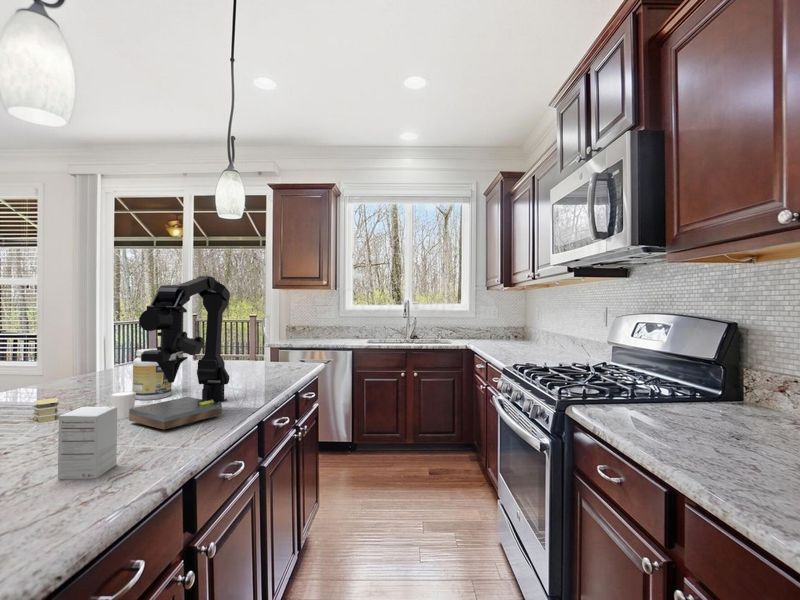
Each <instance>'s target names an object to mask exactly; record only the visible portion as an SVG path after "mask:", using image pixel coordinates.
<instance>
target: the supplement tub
mask: <svg viewBox="0 0 800 600" xmlns="http://www.w3.org/2000/svg"><path fill="white" fill-rule="evenodd" d="M148 350H157V348H141V349H137V350H136V352H135V356H136V358H134V360H133V361H132V392H136V397H135V400H139V401H141V400H142V401H143V400H144V401H151V400H152V401H153V400H160V399H163V398H168V397H169V396H170V395H171V394H172V386H173V385H172V383H169V382H168V380H167V379H166V377H165V375H164V373H163V371H162V369H161V368H160V366H159V365H158V363H157V362H141V354H142V353H143V352H144V351H148Z"/></svg>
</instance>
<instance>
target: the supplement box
mask: <svg viewBox="0 0 800 600" xmlns="http://www.w3.org/2000/svg"><path fill="white" fill-rule="evenodd" d="M117 439H118V420H117V407H110V406H81V407H78V408H76V409H73V410H71V411H68V412H66V413H63V414H61V415H58V441H57V442H58V443H57V444H58V445H57V448H58V449H57V450H58V451H57V455H58V457H57V460H58V461H57V479H58V480H96V479H98V478H99V477H100V476H102V475H104V474H105V473H106V472H108V471H110V470H111V469H112V468H114V467H115V466H117V464H118V463H117V459H118V458H117V457H118V455H117V453H118V449H117V447H118V440H117Z"/></svg>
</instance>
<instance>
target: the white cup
mask: <svg viewBox="0 0 800 600" xmlns="http://www.w3.org/2000/svg"><path fill="white" fill-rule="evenodd" d="M135 397H136V392H133V391H119V392H112V393H109V394H108V403H109V407H117V421H118V420H119V419H120V420H126V419H129V409H131V408H135V404H136V403H135V402H136V399H135Z"/></svg>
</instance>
